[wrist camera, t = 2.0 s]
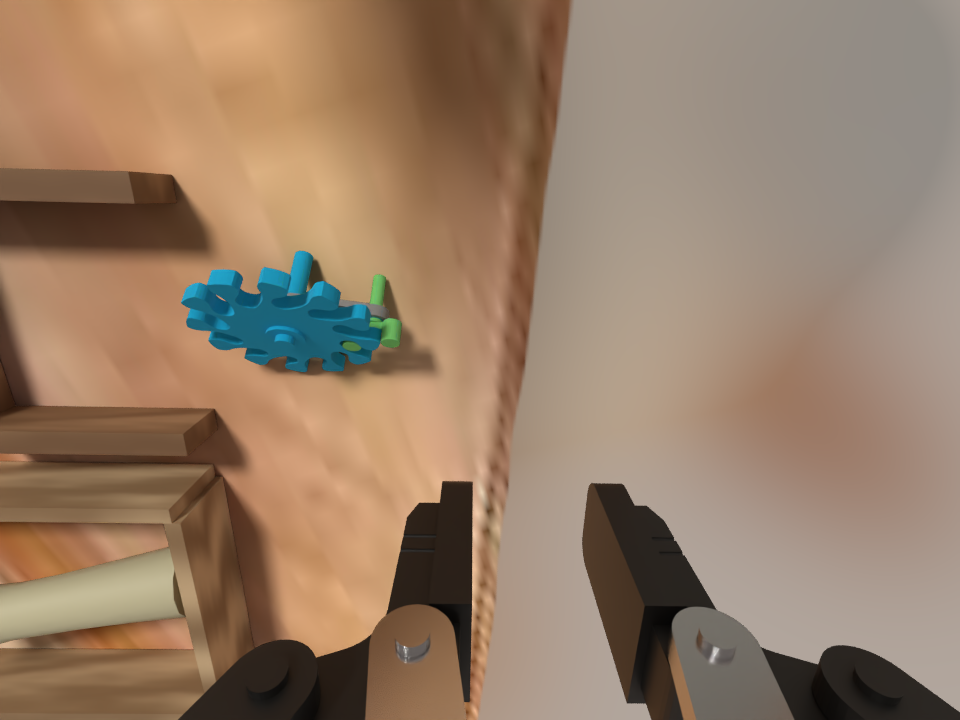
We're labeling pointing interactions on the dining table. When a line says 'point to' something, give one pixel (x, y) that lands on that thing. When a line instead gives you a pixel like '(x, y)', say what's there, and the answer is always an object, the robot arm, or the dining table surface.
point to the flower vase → (92, 597)
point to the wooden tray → (200, 575)
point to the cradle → (95, 426)
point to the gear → (291, 318)
